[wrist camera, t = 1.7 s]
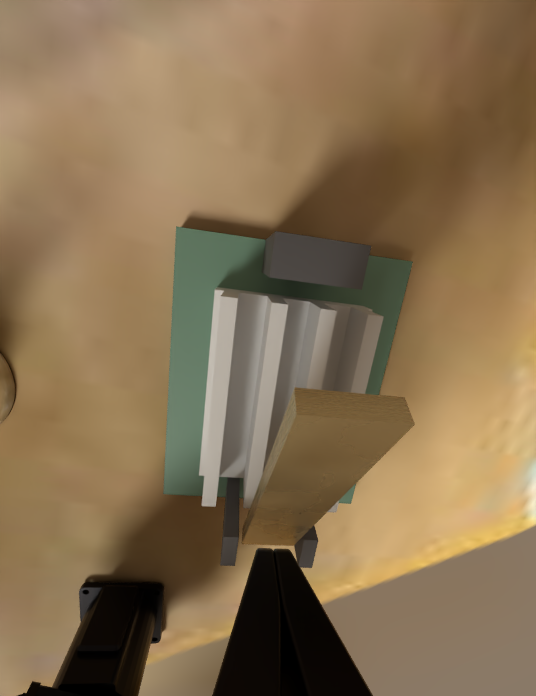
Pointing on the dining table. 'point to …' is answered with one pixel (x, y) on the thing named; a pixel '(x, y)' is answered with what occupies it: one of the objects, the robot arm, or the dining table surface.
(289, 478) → the wooden plank
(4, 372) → the hand bell
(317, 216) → the dining table surface
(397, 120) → the dining table surface
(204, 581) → the dining table surface
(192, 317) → the heatsink board
